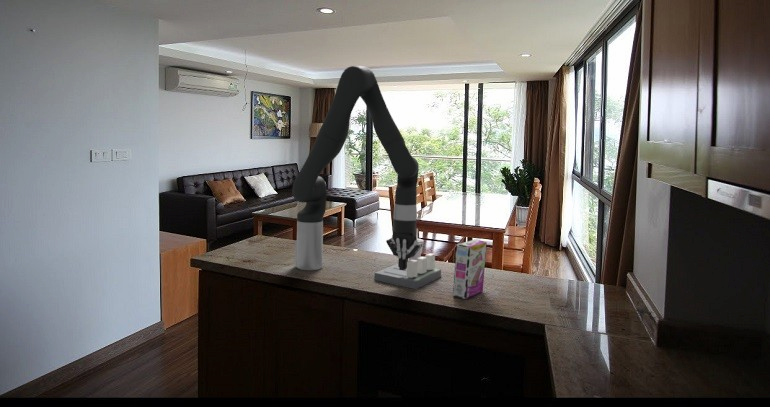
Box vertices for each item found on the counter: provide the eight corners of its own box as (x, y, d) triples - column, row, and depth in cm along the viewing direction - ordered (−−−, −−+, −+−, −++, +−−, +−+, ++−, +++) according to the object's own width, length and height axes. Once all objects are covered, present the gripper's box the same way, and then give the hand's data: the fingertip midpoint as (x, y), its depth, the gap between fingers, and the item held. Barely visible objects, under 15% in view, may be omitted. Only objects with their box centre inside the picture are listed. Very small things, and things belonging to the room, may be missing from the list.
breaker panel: (374, 279, 158) (375, 256, 157) (401, 268, 173) (402, 247, 172) (416, 289, 150) (417, 264, 149) (440, 276, 165) (441, 254, 164)
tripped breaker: (406, 276, 153) (407, 261, 152) (411, 274, 156) (412, 259, 155) (411, 277, 152) (412, 262, 151) (417, 275, 155) (417, 260, 154)
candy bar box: (466, 300, 141) (469, 246, 139) (452, 296, 144) (455, 244, 142) (484, 291, 149) (487, 241, 147) (470, 288, 153) (473, 238, 150)
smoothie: (421, 267, 176) (423, 230, 174) (404, 266, 177) (406, 229, 175) (423, 263, 182) (425, 227, 180) (407, 261, 183) (408, 226, 181)
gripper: (381, 216, 153) (380, 268, 156) (417, 221, 146) (415, 275, 149) (393, 214, 160) (391, 263, 162) (428, 218, 153) (426, 270, 155)
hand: (403, 269), depth 155 cm, fingers closed
